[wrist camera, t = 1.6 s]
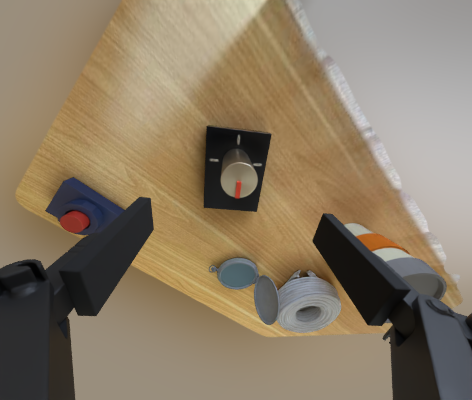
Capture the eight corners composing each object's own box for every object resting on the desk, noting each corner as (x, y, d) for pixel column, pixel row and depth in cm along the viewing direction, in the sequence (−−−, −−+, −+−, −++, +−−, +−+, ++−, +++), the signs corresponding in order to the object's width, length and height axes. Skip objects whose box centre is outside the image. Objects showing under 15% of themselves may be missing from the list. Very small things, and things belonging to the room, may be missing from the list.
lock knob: (223, 147, 28) (222, 161, 19) (251, 150, 28) (261, 165, 20) (221, 173, 29) (219, 197, 21) (247, 176, 30) (254, 200, 22)
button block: (55, 205, 34) (35, 216, 30) (73, 177, 32) (53, 184, 28) (109, 236, 38) (97, 249, 34) (129, 212, 35) (117, 223, 32)
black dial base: (208, 124, 29) (206, 125, 26) (267, 132, 30) (271, 133, 27) (205, 200, 35) (203, 208, 32) (254, 204, 36) (256, 212, 33)
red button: (64, 219, 31) (55, 224, 30) (73, 206, 30) (64, 211, 29) (84, 230, 33) (77, 236, 31) (93, 218, 32) (86, 223, 30)
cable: (300, 263, 44) (310, 284, 38) (346, 287, 48) (361, 308, 43) (258, 302, 50) (262, 325, 44) (303, 320, 54) (312, 342, 49)
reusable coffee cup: (322, 219, 38) (374, 277, 25) (379, 212, 38) (463, 266, 24) (317, 262, 44) (357, 327, 30) (367, 256, 43) (430, 319, 30)
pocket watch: (266, 335, 37) (197, 325, 35) (258, 289, 47) (204, 278, 45) (287, 306, 33) (211, 292, 31) (273, 263, 43) (215, 249, 41)
